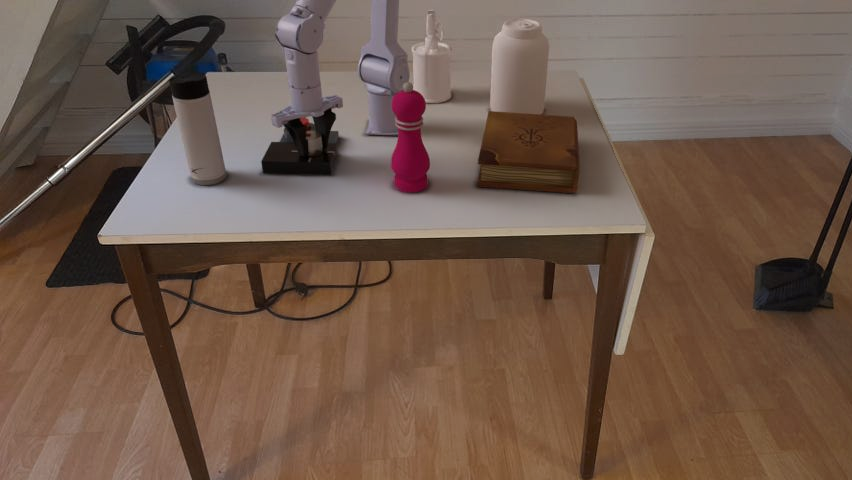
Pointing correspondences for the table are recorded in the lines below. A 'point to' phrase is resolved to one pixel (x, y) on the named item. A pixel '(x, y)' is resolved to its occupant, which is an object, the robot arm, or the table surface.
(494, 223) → the table surface
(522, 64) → the can
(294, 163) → the panel
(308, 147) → the burner knob
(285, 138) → the button box
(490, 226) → the table surface
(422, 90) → the white oil can
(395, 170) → the pepper mill
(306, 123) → the stop button
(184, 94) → the travel mug
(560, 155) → the diary
